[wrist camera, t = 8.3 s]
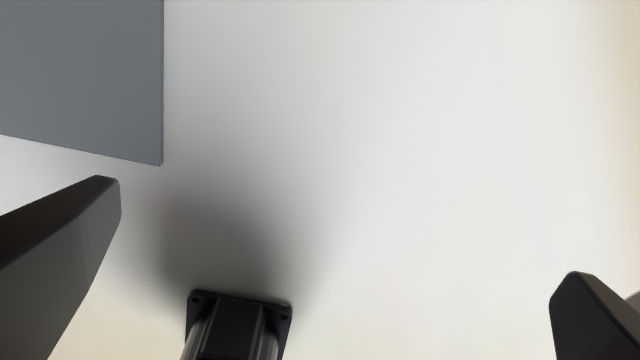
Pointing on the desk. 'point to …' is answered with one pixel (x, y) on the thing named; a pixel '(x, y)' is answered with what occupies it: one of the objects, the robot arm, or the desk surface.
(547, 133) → the desk surface
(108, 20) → the build mat
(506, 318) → the desk surface
